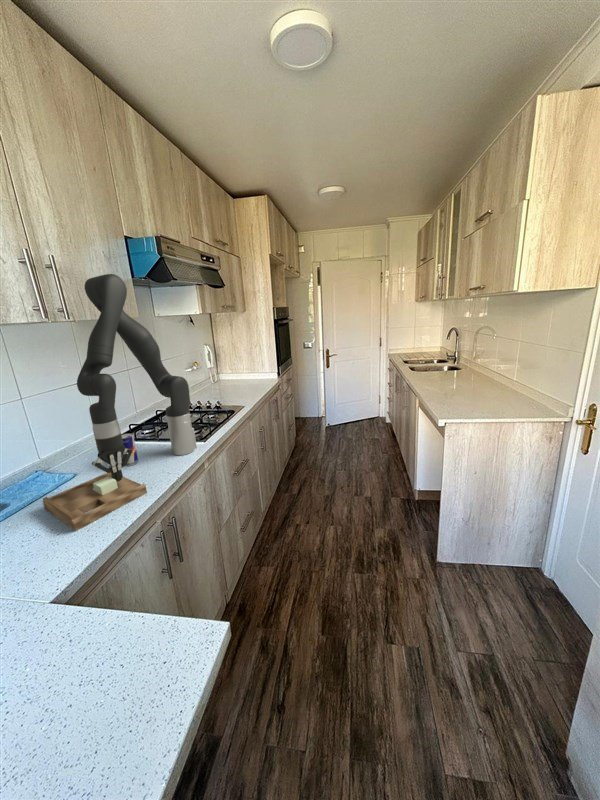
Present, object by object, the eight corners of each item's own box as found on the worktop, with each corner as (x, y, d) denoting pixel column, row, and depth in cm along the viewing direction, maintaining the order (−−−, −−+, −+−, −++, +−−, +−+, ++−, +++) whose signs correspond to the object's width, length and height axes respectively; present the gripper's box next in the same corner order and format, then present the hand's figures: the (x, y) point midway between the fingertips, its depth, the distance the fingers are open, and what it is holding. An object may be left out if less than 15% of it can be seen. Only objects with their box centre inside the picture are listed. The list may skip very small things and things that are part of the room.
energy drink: (132, 466, 127) (126, 438, 124) (120, 465, 129) (114, 438, 125) (141, 460, 132) (136, 433, 129) (130, 459, 134) (124, 433, 130)
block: (109, 484, 111) (108, 476, 110) (117, 487, 108) (116, 479, 107) (94, 491, 107) (92, 483, 106) (102, 495, 104) (100, 487, 103)
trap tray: (114, 477, 119) (111, 467, 118) (147, 492, 109) (144, 481, 108) (45, 509, 102) (41, 497, 101) (76, 531, 91) (72, 517, 90)
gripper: (121, 425, 113) (130, 469, 117) (80, 438, 102) (92, 486, 107) (133, 428, 109) (142, 474, 114) (92, 443, 98) (104, 492, 103)
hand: (118, 480), depth 110 cm, fingers closed
